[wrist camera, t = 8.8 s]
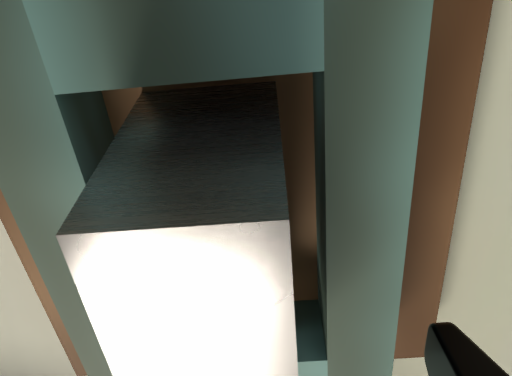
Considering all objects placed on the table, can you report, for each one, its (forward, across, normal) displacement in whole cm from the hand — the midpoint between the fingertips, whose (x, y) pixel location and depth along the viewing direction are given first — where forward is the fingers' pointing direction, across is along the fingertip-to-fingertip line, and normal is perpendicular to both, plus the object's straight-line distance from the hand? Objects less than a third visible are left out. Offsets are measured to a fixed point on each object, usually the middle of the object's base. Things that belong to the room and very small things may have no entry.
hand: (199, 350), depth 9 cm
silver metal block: (+6, 0, 0) cm, 6 cm away
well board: (+7, 0, 0) cm, 7 cm away
